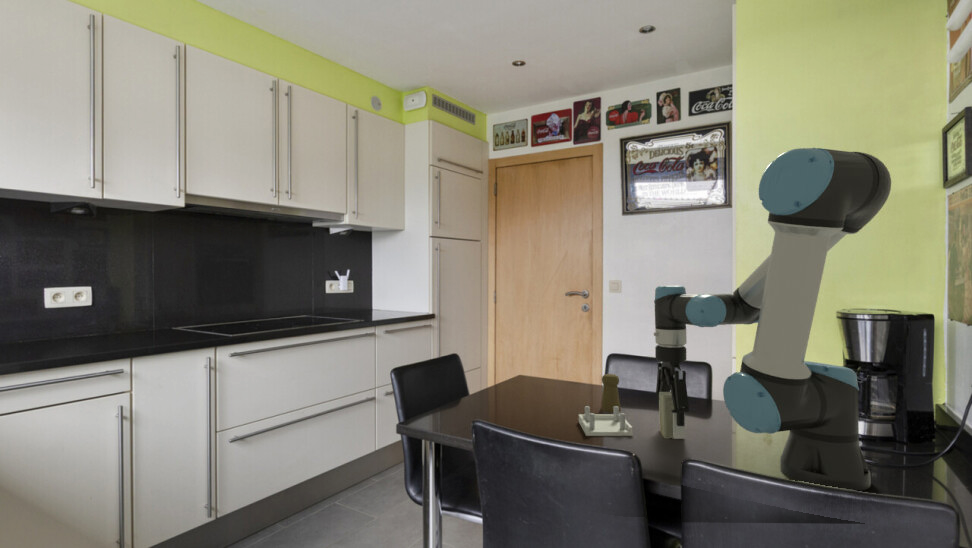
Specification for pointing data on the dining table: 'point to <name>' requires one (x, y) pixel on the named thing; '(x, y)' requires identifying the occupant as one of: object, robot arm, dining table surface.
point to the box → (666, 414)
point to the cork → (610, 393)
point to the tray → (605, 423)
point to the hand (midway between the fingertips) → (671, 431)
